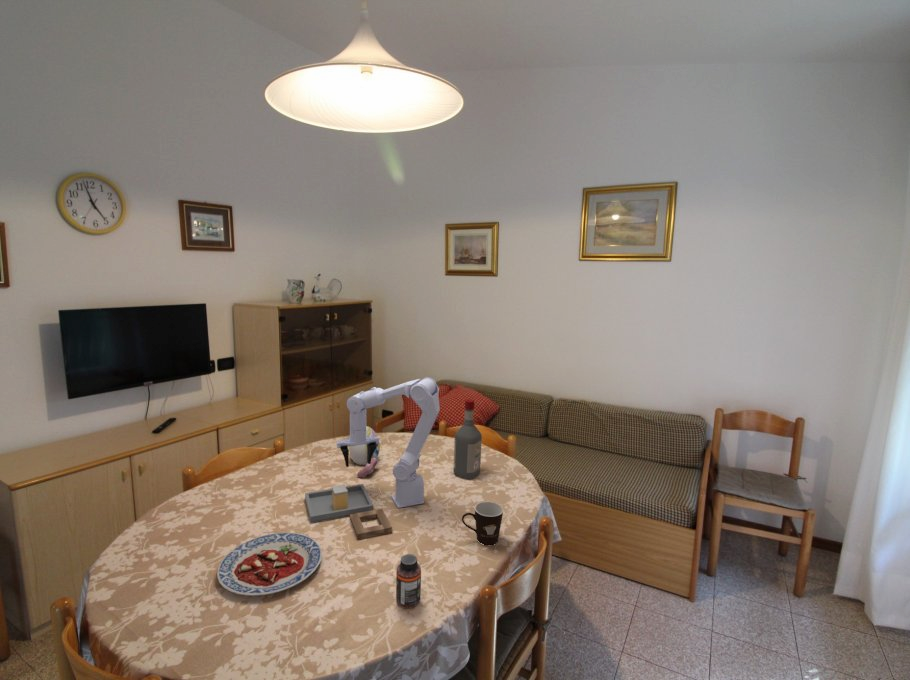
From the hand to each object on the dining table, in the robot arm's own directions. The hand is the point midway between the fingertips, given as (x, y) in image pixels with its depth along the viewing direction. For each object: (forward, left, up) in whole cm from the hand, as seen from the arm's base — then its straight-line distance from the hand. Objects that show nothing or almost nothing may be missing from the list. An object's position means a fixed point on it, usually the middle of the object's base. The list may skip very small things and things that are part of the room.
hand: (358, 464), depth 163 cm
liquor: (-43, 0, -11) cm, 44 cm away
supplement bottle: (0, +58, -11) cm, 59 cm away
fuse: (+8, +9, -10) cm, 16 cm away
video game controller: (-7, -13, -11) cm, 18 cm away
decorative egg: (-8, -25, -11) cm, 28 cm away
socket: (+1, +23, -10) cm, 25 cm away
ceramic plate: (+30, +33, -11) cm, 46 cm away
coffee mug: (-29, +41, -11) cm, 51 cm away
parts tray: (+8, +7, -10) cm, 15 cm away
